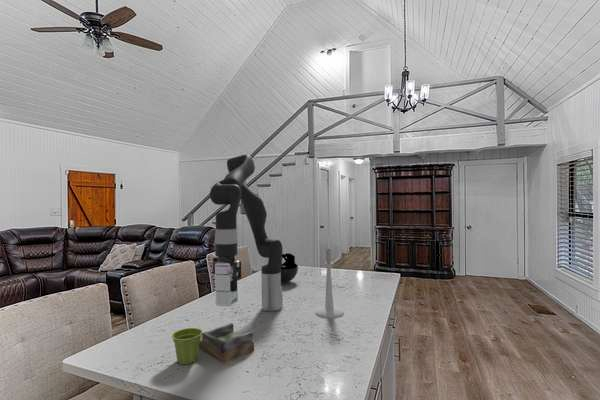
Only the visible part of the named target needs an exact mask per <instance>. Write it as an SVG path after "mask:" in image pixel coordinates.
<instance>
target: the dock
mask: <svg viewBox="0 0 600 400" xmlns="http://www.w3.org/2000/svg"><path fill="white" fill-rule="evenodd" d="M198 350H199V351H202V352H204V353H206V354H207V355H208V356H211V357H213V358H214V359H216V360H218V361H219V362H220V363H222V364H226V363H229V362H231V361H233V360H236V359H238V358H240V357H242V356H245V355H247V354H249V353H252V352H253V351H255V341H254V340H253V331H251V330H250V331H248V332H245V333H243V334H239V333H237V332H234V323H232V322H231V323H229V324H225V325H222V326H219V327H216V328H212V329H210V330H207V331H205V332H204V331H203V332H202V335H201V338H200V342H199V349H198Z"/></svg>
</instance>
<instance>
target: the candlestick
mask: <svg viewBox="0 0 600 400" xmlns="http://www.w3.org/2000/svg"><path fill="white" fill-rule="evenodd" d="M325 250H326V252H325V253H326V262H324V264H325V268H326V282H325V283H326V284H325V305H324V306H320V307H318V308H317V309H316V310H315V311H314V313H315V316H317V317H320V318H324V319H337V318H341V317H342V316H344V310H343V309H341V308H340V307H339V306H338V307H337V306H335V305H334V298H333V284H332V283H333V282H332V270H331V268H332V267H333V266H332V264H333V262H332V256H331V255H332V254H331V253H332V251H331V247H327V248H326V249H325Z"/></svg>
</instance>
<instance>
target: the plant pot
mask: <svg viewBox="0 0 600 400" xmlns="http://www.w3.org/2000/svg"><path fill="white" fill-rule="evenodd" d="M202 333H203V330H202V329H201V328H198V327H187V328H182V329H178V330H177V331H174V332H173V333H172V334H171V339H172V340H173V343H174V348H175V354H176V355H175V356H176V362H177V363H178V364H179V365H189V364H191V363H194V362H196V361H197V360H198V358H199V356H198V355H199V350H200V349H199V342H200V338H201V335H202Z"/></svg>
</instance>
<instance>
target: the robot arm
mask: <svg viewBox="0 0 600 400" xmlns="http://www.w3.org/2000/svg"><path fill="white" fill-rule="evenodd" d="M255 167H256V166H255V163H254V160H253V158H252V157H251V155H249V154H241V155H238V156H235V157H231V158H228V159H227V161H226V168H227V170H228V173H227V174H226V175H225V177H224V178H223V179H221V180H220V181H217V182H216V183H215V184H213V185H212V187H211V188H210V191H209V198H210V201H211V202H212V203H213V204H215V205H217V206H223V205H224V206H225V205H230V206H229V207H228V209H227V210H223V211H218V212H217V213H216V214H215V233H214V255H215V257H212V274H213V275H215V264H216V263H219V262H223V263H229V264H230V266H232V268H233V271H231V272H229V270H228V269H227V275H230V280H231V281H230V291H231V292H234V291H236V290H237V291H238V280H241V279H242V261H241V260H236V258H235V257H236V256H237V255H238V230H237V219H238V218H237V217H238V216H237V215H238V211H239V210H238V209H239V207H240V204H242V208H243V211H244V212H245V215H246V217H247V220H248V222H249V225H250V229H251V231H252V234H253V238H254V242H255V247H256V250H257V252H258V255H259V256H261V257H262V258H265V259H268V262H267V264H264V265H262V267H261V269H260V270H261V271H260V272H261V275H260V276H261V310H263V311H265V312H274V311H279V310H281V309H282V308H283V305H284V304H283V303H284V302H283V301H284V299H283V287H282V285H281V284H282V283H281V266H282V264H283V258H282V254H283V245H282V242H281V241H280V240H279V239H278V238H276V239H275V238H269V237H268V235H267V232H266V228H265V227H266V226H265V224H266V221H267V216H268V215H267V210H266V207H265V204H264V201H263V200H262V198H261V197H260V196H259V195H258V194H257V193H256V192H254V191H253V190H251V188H249V187H248V186H247V185H246V184H245V182H246V180H248V178H250V176H252V175H253V174H254V173H255V170H256V168H255ZM240 202H241V203H240ZM232 274H233V276H232Z"/></svg>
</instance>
